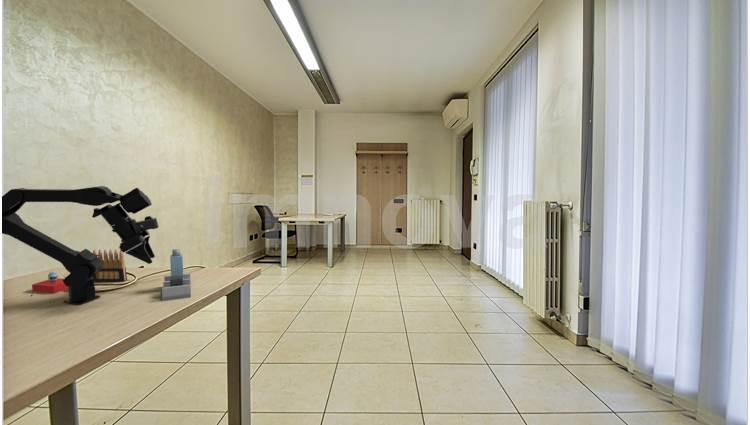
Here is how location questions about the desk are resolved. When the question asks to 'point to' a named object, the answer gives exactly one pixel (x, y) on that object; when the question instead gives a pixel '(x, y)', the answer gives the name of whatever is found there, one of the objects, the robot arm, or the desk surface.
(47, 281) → the red block with knob
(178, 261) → the blue plug
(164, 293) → the organizer
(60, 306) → the desk surface
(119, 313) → the desk surface
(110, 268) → the ammunition clip
